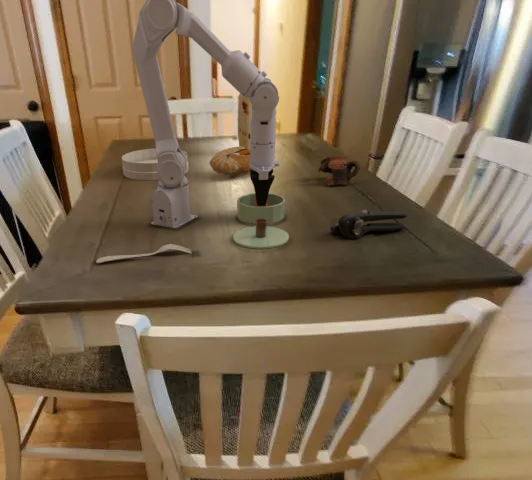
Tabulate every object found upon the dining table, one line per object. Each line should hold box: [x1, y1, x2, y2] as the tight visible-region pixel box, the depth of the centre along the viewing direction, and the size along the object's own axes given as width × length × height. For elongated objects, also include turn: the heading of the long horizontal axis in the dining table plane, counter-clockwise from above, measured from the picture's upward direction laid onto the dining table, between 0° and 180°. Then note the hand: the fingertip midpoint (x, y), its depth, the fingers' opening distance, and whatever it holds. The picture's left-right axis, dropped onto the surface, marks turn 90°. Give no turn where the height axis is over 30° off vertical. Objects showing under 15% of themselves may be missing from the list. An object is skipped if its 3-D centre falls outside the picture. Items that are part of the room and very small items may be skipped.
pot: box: [236, 192, 286, 225], centre depth 114 cm, size 12×12×4 cm
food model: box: [237, 93, 252, 149], centre depth 167 cm, size 10×7×20 cm
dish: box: [121, 147, 190, 181], centre depth 155 cm, size 22×22×5 cm
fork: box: [96, 243, 192, 264], centre depth 98 cm, size 3×21×3 cm, turn 98°
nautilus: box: [208, 146, 277, 178], centre depth 146 cm, size 8×22×15 cm
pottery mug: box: [317, 155, 361, 187], centre depth 137 cm, size 12×10×8 cm
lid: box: [232, 219, 290, 250], centre depth 102 cm, size 12×12×4 cm
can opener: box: [329, 209, 408, 240], centre depth 103 cm, size 18×7×6 cm, turn 106°
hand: (261, 203), depth 113 cm, fingers closed on carrot, 3 cm apart
